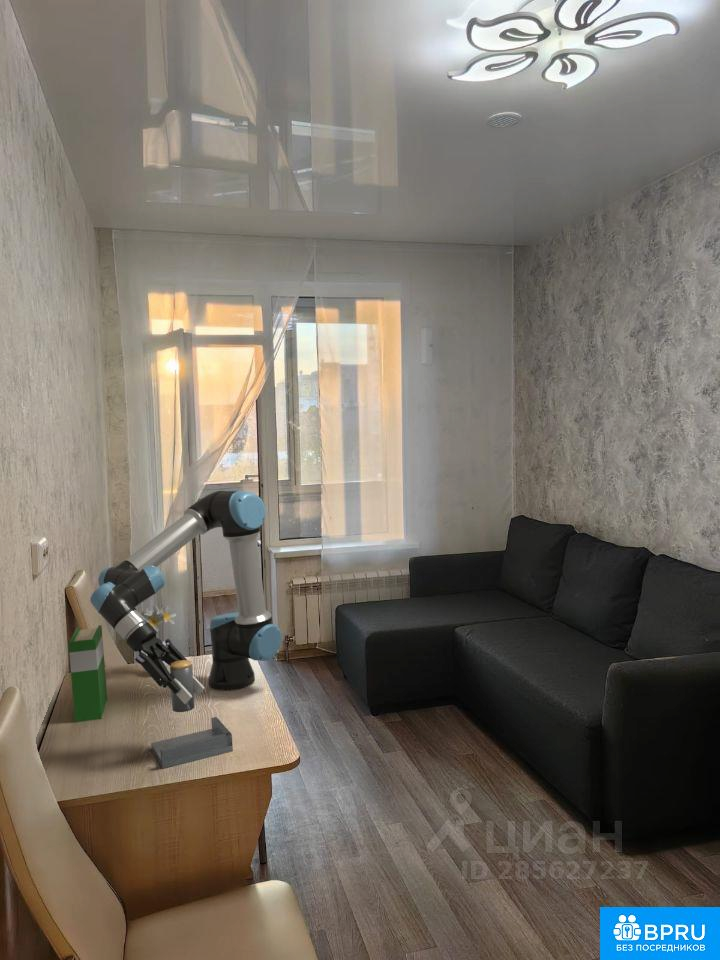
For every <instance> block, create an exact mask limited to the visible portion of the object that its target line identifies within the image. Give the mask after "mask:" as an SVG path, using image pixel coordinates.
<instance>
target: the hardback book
mask: <svg viewBox="0 0 720 960" xmlns="http://www.w3.org/2000/svg"><path fill="white" fill-rule="evenodd" d="M102 628H103V626H102V625H101V624H100V625H98V626H97V627H95V628H88V629H86V628H85V629H81V627H76V629H75V631H74V632H73V634H72V636H71V638H70V639H69V641H68V652H69V662H70V663H69V665H70V676H71V689H72V692H71V693H72V701H73V715H74V723H80V722H81V723H82V722H88V721H96V720H103V719H102V718H103V714H104V712H105V711H104V710H105V708H106V704H107V701H108V691H107V679H106V678H107V677H106V667H105V666H106V664H105V663H106V662H105V653H104V652H105V651H104V650H105V649H104V639H103V629H102Z"/></svg>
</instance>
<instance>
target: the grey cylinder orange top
mask: <svg viewBox="0 0 720 960" xmlns="http://www.w3.org/2000/svg"><path fill="white" fill-rule="evenodd" d="M169 673H170V674H171V676H172V678H173V679H174V678H176V679H177V680H178V681H179V682H180V683H181V684H182V685H183V686H184V687H185V689H186V690H187V691H188V692H189V693H190V694H191V695H192V697H191V699H190V700H189V701H188V702H187V703H186V704H184V703H183V702H182V700H181V699H180V698H179V697H178V696H177V695H176V694H175V693H173V691H172V690H171V689H170V690H171V692H170V694H171V705H172V706H171V707H172V711H173V712H175V713H187V712H189V711H193V710H194V709H195V696H194V694H195V692H194V691H193V675H194V672H193V664H192V661H191V660H188V659H187V660H180V661H175V662H173V663H171V666H169Z"/></svg>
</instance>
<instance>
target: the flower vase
mask: <svg viewBox="0 0 720 960" xmlns="http://www.w3.org/2000/svg"><path fill="white" fill-rule="evenodd" d="M152 609H153V610H149V607H147V608H146V609H145V611H142V612H141V613H140V614H141V615H142V616H143V617H144V618H145V619H146V620H147V622H146V623H149V624H150V625H151V626H152V627H153V628H154V629H155V630H156V632H157V634H156V637H157V638H158V639H159V633H158V632H159V631H160V626H159V625H160V624H163V623H168V622H169V623H170V624H172V625H175V624H176V623H175V621H174V618H175V617H176V616H177V613H176V612H170V609H171V608H170V606H169V605H166V606H165V605H164V606H162V607H161V608H159V607H158V605H155V604H154V605H153V606H152ZM163 663H164V665H165V666H166V668H167V669H168V667H169V665H168V664H167V663H166V662H164V661H163ZM142 668H143V667H142ZM143 670H144V671H145V672H147V671H146V670H145V669H144V668H143ZM147 675H148V676H150V675H149V673H148V672H147Z"/></svg>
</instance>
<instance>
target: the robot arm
mask: <svg viewBox="0 0 720 960" xmlns="http://www.w3.org/2000/svg"><path fill="white" fill-rule="evenodd" d="M266 514H267V513H266V507H265V504H264V502H263V500H262V498H261V497H260V496H258V495H257V494H256V493H254V492H252V491H247V490H218V491H217V490H216V491H214V492H211V493H209V494H207V495H205V496H204V497H201V498H200V499H199V500H197V501H196V502H195V503H192V505H190V506H189V507H188V508H187V509H186V510H184V512H183V516H181V517H179V519H177V520H176V521H174V522H173V523H172V524H171V525H169V526H168V527H167V528H165V529H164V530H163V531H162V532H160V533H159V534H157V535H156V536H155V537H154V538H152V539H150V541H148V542H147V543H146V544H144V545H143V546H141V547H139V549H137V551H135V552H133V554H131V555H129V556H128V557H127V558H126V559H125V560H123V561H122V562H121V563H118V564H117V565H116V566H110V567H106V568H104V569H103V570H102V571H100V573H99V575H98V579H97V580H98V581H97V582H98V583H97V584H98V587H97V588H96V589H95V590H94V591H93V592H92V593H91V596H90V598H89V599H90V600H89V601H90V603H91V605H92V606H93V607H94V609H95V610H96V611H97V613H98V614H99V615H101V617H102V618H103V619H104V620H105V621H106V622H107V623H108V624H109V626H111V627H112V629H114V631H116V633H117V634H118V635H119V637H120V638H121V639H122V640H123V641H126V644H127V645H128V646H129V648H130V649H131V650H132V651H133V652H138V653H139V654H138V655H137V656H136V657H135V659H134V660H135V662H136V663H138V664H139V665H141V666H142V668H144V669H145V670H146V671H147V674H148V673H149V675H148V676H150V677H151V678H152V680H153V681H154V682H155V683H156V684H157V685H158V686H159V687H162V688H167V687H168V689H170V690H172V691H173V693H175V694H176V695H177V696H178V697H179V698H180V699H181V700H182V702H183V703H184V704H186V703H187V702H188V701H189V700H190V699H191V697H192V695H191V694H190V693H189V692H188V691H187V690H186V689H185V687H184V686H183V685H182V684H181V683H180V682H179V681H178V680H177V679H176V678H174V679H173V678H172V676H171V674H170V670H168V667H171V663H173V662H175V661H180V660H188V659H187V658H186V656H184V655H183V654H182V652H180V651H179V650H178V649H177V648H176V647H175V645H174V644H173V643H172V641H171V640H170V639H169V638H166V639H165V641H163V640H162V639H160V638H159V637H158V638H157V637H156V634H157V632H156V630H155V629H154V628H153V627H152V626H151V625H150V624H149V623H146V622H147V620H146V619H145V618H144V617H143V616H142V615H141V613H140V611H138V609H136V607H137V606H138V605H140V604H142V603H143V602H145V601H146V600H148V599H149V598H150V597H152V596H153V595H155V594H157V592H159V591H160V590H162V589H163V588H164V587H165V584H166V580H165V576H164V575H163V573H162V571H161V570H160V569H159V568H158V567H159V566H161V564H163V563H164V562H165V561H166V560H168V559H169V558H171V557H172V556H173V555H174V554H176V553H177V552H178V551H179V550H181V549H182V548H183V547H185V546H186V545H187V544H188V543H190V542H191V541H193V540H194V539H195V538H196V537H197V536H198V535H202V536H203V535H205V534H207V532H209V531H210V530H213V529H217V528H221V530H222V535H223V538H224V539H226V541H228V545H229V551H230V559H231V565H232V573H233V581H234V582H233V583H234V589H235V595H236V603H237V610H238V612H237V611H236V612H235V611H234V612H229V613H225V614H224V613H223V614H219V615H216V616H214V617H213V618H211V620H210V622H209V623H210V625H209V631H210V641H211V644H210V645H211V655H212V657H211V658H212V664H211V667H210V671H209V675H208V686H209V687H208V688H210V689H212V690H215V691H235V690H240V689H244V688H247V687H249V686H252V685H253V684H254V683H255V682H254V681H256V678H255V677H256V676H255V672H254V669H253V666H252V665H251V661H250V660H249V659H251V660H252V661H260V662H262V661H264V662H265V661H269V660H270V659H272V658H273V657H274V656H275V655H276V654H277V652H278V651H279V649H280V647H281V644H282V632H281V629H280V628H279V627H278V626H277V625H276V624H273V623H274V622H273V617H272V613H271V612H270V611H268V610H267V609H266V603H265V602H266V601H265V594H264V593H265V592H264V587H263V586H264V585H263V578H262V570H261V563H260V555H259V549H258V546H259V545H258V539H257V537H258V535H259V534H260V532H261V526H262V525H263V523H264V520H265V518H266ZM163 661H164V662H166V663H167V664H168V667H167V668H166V666H165V665H164V663H163ZM144 669H143V670H144ZM145 670H144V671H145ZM146 671H145V672H146ZM204 690H205V686H204V685H203V684H202V683H201V682H200V681H199V680H198V679H197V677H196V676H195V675H194V674H193V691H194V694H195V695H196V696H197V697H198V696H199V695H200V694H201V693H202V692H203V691H204Z"/></svg>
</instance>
